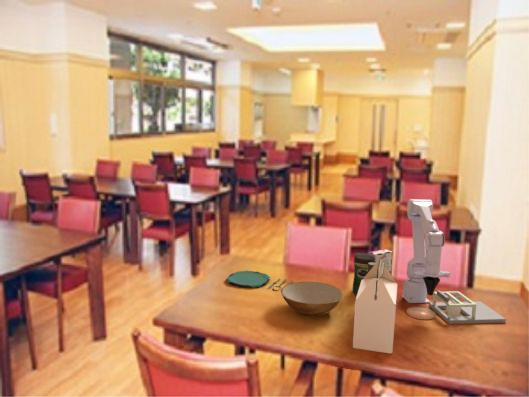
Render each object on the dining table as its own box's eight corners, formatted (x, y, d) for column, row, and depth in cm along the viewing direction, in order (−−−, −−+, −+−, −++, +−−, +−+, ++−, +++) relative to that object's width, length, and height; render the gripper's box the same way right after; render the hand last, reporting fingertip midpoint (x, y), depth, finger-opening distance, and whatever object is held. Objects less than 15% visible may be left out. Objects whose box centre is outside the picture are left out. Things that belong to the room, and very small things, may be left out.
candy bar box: (383, 281, 234) (385, 248, 232) (390, 284, 230) (393, 251, 227) (365, 285, 229) (367, 251, 226) (372, 288, 225) (375, 254, 222)
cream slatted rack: (448, 317, 190) (449, 300, 188) (432, 303, 203) (433, 287, 202) (475, 317, 191) (477, 299, 190) (457, 303, 205) (459, 287, 203)
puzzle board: (449, 324, 188) (449, 320, 188) (428, 305, 206) (429, 302, 205) (505, 322, 190) (505, 319, 190) (480, 304, 208) (480, 301, 208)
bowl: (349, 305, 204) (350, 287, 203) (331, 329, 181) (332, 308, 180) (293, 295, 214) (294, 277, 213) (270, 316, 192) (270, 296, 190)
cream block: (450, 316, 195) (451, 303, 194) (445, 312, 199) (446, 299, 198) (459, 316, 196) (461, 303, 195) (455, 312, 200) (456, 299, 199)
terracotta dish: (413, 320, 191) (413, 318, 191) (402, 308, 202) (402, 307, 202) (440, 319, 192) (440, 317, 192) (428, 308, 203) (428, 306, 203)
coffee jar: (375, 292, 219) (377, 252, 216) (372, 298, 212) (375, 257, 209) (353, 289, 223) (356, 250, 220) (350, 295, 216) (352, 254, 212)
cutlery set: (238, 272, 244) (239, 267, 243) (295, 282, 232) (295, 277, 232) (220, 285, 226) (220, 280, 225) (280, 297, 214) (280, 292, 214)
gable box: (392, 354, 163) (398, 274, 158) (352, 348, 167) (357, 270, 162) (394, 327, 184) (399, 256, 179) (358, 322, 188) (363, 252, 183)
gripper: (419, 265, 188) (416, 298, 190) (455, 264, 189) (452, 297, 192) (411, 259, 195) (409, 292, 197) (446, 259, 196) (443, 291, 198)
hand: (429, 294), depth 195 cm, fingers closed
